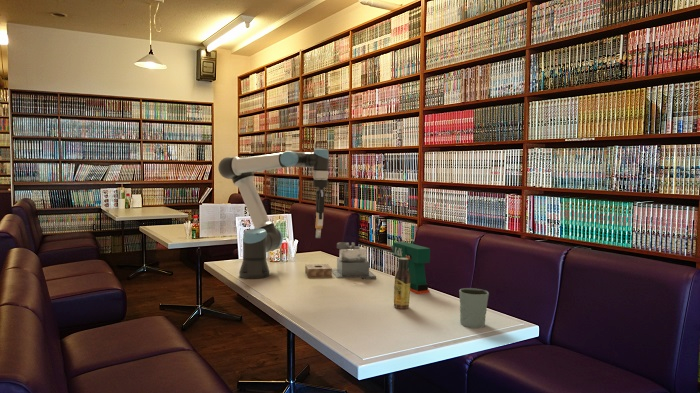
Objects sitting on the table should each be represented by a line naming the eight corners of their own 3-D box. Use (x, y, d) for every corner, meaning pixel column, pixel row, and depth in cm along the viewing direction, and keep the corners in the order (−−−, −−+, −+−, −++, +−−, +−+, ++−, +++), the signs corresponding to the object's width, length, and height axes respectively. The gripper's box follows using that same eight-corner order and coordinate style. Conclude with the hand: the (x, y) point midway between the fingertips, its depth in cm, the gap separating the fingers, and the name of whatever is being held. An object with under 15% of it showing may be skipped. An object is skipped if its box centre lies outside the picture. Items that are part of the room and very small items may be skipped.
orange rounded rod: (315, 238, 244) (317, 214, 243) (313, 237, 247) (315, 213, 247) (322, 238, 245) (324, 215, 244) (320, 237, 248) (322, 214, 248)
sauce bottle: (390, 305, 194) (392, 257, 193) (404, 304, 196) (406, 256, 195) (398, 310, 188) (399, 259, 187) (412, 309, 190) (413, 259, 189)
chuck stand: (337, 280, 238) (337, 264, 238) (330, 271, 258) (330, 257, 258) (376, 279, 242) (376, 263, 242) (366, 270, 262) (366, 256, 262)
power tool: (381, 279, 243) (382, 239, 242) (393, 278, 246) (394, 239, 245) (416, 294, 214) (417, 249, 213) (429, 292, 217) (430, 248, 216)
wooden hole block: (307, 279, 239) (308, 269, 239) (305, 274, 251) (305, 264, 251) (331, 278, 242) (331, 268, 242) (327, 273, 254) (328, 264, 253)
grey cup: (452, 323, 172) (453, 290, 172) (468, 318, 180) (469, 286, 179) (478, 330, 165) (479, 296, 165) (492, 324, 172) (494, 291, 172)
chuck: (334, 260, 245) (334, 243, 245) (341, 256, 259) (341, 240, 258) (362, 262, 241) (363, 245, 241) (368, 258, 255) (369, 241, 254)
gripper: (330, 179, 237) (329, 227, 238) (325, 179, 253) (323, 223, 255) (315, 179, 235) (314, 227, 237) (311, 178, 252) (309, 223, 253)
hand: (319, 225), depth 246 cm, fingers closed on orange rounded rod, 3 cm apart
